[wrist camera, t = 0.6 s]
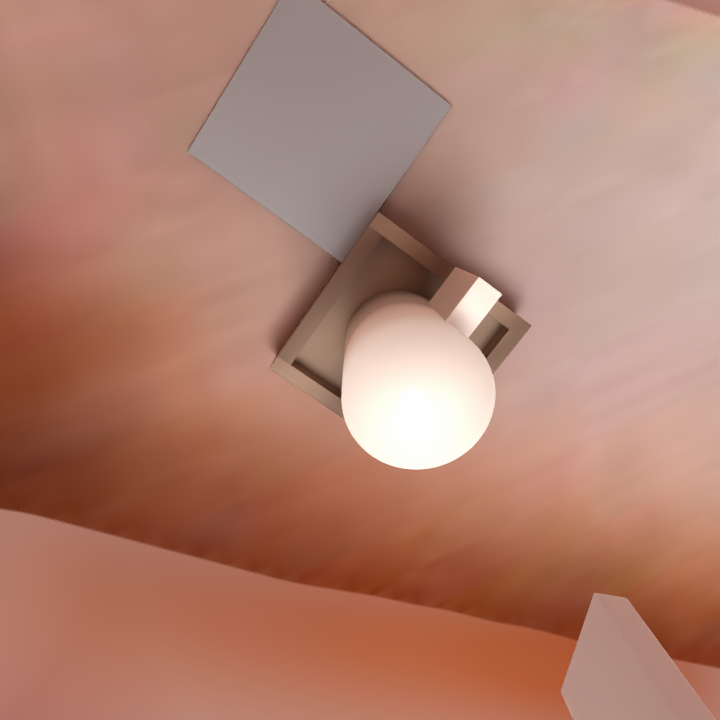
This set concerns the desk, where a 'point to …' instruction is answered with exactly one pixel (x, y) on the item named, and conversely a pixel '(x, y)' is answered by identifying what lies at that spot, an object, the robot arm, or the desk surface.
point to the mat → (318, 124)
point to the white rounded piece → (419, 373)
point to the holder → (359, 283)
